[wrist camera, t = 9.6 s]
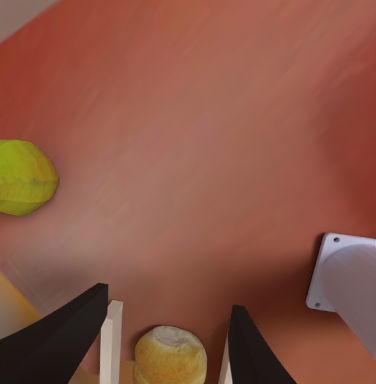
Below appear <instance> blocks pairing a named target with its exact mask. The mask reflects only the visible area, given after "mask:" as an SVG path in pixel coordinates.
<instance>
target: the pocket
mask: <svg viewBox="0 0 376 384" xmlns="http://www.w3.org/2000/svg"><path fill="white" fill-rule="evenodd" d="M122 309H123V301H117V300H112V302H111V303H110V305H109V306H108V314H107V317H106V319H105V321H104V323H103V325H102V327H101V350H100V384H119V367H120V348H121V328H122ZM229 324H230V322H229ZM228 329H229V328H228ZM218 384H233V383H232V376H231V369H230V363H229V354H228V333H227V338H226V344H225V349H224V355H223V360H222V365H221V371H220V376H219V382H218Z"/></svg>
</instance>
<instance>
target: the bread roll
mask: <svg viewBox="0 0 376 384" xmlns="http://www.w3.org/2000/svg"><path fill="white" fill-rule="evenodd" d="M135 360H136V362H135V364H134V368H133V380H134V384H204V381H205V378H206V372H207V356H206V352H205V349H204V347H203V345H202V343H201V342H200V340H199V339H198V338H197V337H196V336H195V335H193V334H192V333H191V332H189V331H186V330H183V329H179V328H177V327H172V326H157V327H155V328H153V329H152V330H151V331H149V332H148V333H146V334H145V335H144V336H142V337H141V338H140V340H139V341H138V343H137V345H136V347H135Z"/></svg>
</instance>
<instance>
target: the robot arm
mask: <svg viewBox="0 0 376 384" xmlns="http://www.w3.org/2000/svg"><path fill="white" fill-rule="evenodd" d="M336 237H337V239H336V240H335V241H334V238H336ZM316 303H318V304H316ZM306 304H307V306H308V307H309V308H313V309H319V310H325V311H331V312H337V313H338V314H339V316H340V317H341V318H342V319H343V321H344V322H345V323H346V324H347V326H348V327H349V328H350V329H351V331H352V332H353V333H354V334H355V336H356V337H357V338H358V339H359V341H360V342H361V343H362V344H363V346H364V347H365V348H366V349H367V351H368V352H369V353H370V354H371V356H372V357H373V358H374V359H375V361H376V239H372V238H365V237H358V236H350V235H343V234H336V233H326V234H325V235H324V236H323V240H322V243H321V247H320V251H319V254H318V258H317V262H316V265H315V269H314V273H313V276H312V280H311V284H310V287H309V291H308V295H307V298H306ZM315 304H316V305H315ZM107 314H108V284H102V283H97V284H96V285H94V286H93V287H91V288H90V289H88V290H87V291H85V292H84V293H82V294H81V295H79V296H78V297H76V298H75V299H73V300H72V301H70V302H69V303H67V304H66V305H64V306H62V307H61V308H59V309H57V310H56V311H54V312H52V313H51V314H49V315H48V316H46V317H44V318H42V319H41V320H39V321H37V322H35V323H33V324H32V325H30V326H28V327H26V328H24V329H22V330H20V331H18V332H16V333H14V334H12V335H10V336H7V337H5V338H3V339H1V340H0V384H68V382H69V380H70V379H71V377H72V376H73V374H74V372H75V371H76V369H77V367H78V366H79V364H80V363H81V361H82V359H83V358H84V356H85V355H86V353H87V351H88V350H89V348H90V347H91V345H92V343H93V342H94V340H95V338H96V337H97V335H98V333H99V331H100V329H101V327H102V325H103V323H104V321H105V319H106V317H107ZM228 354H229V363H230V369H231V376H232V383H233V384H297V383H296V382H295V381H294V380H293V378H292V377H291V376H290V375H289V373H288V372H287V371H286V369H285V368H284V367H283V366H282V364H281V363H280V362H279V360H278V359H277V357H276V356H275V355H274V353H273V352H272V350H271V349H270V347H269V346H268V344H267V343H266V341H265V340H264V338H263V337H262V335H261V334H260V332H259V330H258V329H257V327H256V325H255V324H254V322H253V320H252V319H251V317H250V315H249V313H248V312H247V310H246V308H245V307H244V306H239V305H233V307H232V313H231V318H230V324H229V329H228Z"/></svg>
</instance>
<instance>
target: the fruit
mask: <svg viewBox="0 0 376 384" xmlns="http://www.w3.org/2000/svg"><path fill="white" fill-rule="evenodd" d="M58 181H59V177H58V174H57V172H56V170H55V167H54V165H53V163H52V162H51V161H50V159H49V158H48V157H47V156H46V155H45V154H44V153H43V152H42V151H41V150H40V149H39V148H38V147H36V146H35V145H34V144H32V143H30V142H26V141H20V140H0V212H2V213H7V214H12V215H17V216H20V215H26V214H28V213H30V212H33V211H35V210H36V209H38V208H39V207H40V206H42V205H43V204H44V203H45V202H47V201H48V200H49V199H50V198H52V196H53V195H54V193H55V190H56V187H57V184H58Z"/></svg>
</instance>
